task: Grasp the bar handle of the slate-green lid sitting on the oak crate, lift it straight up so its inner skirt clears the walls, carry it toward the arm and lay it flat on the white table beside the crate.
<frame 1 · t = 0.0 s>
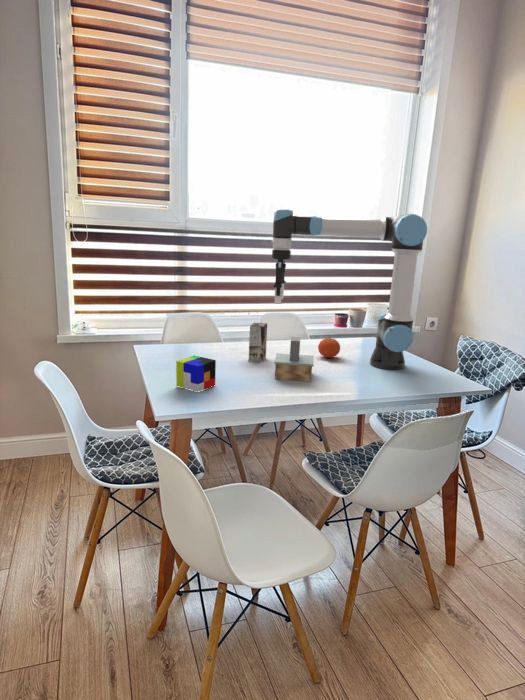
hand: (279, 301, 195), 28 cm above the table, fingers open, 13 cm apart
crate: (293, 377, 187), on the table
lid: (294, 360, 185), point 7 cm above the table, touching crate
orange fruit: (328, 357, 219), on the table
puzzle toy: (196, 387, 172), on the table
coffee box: (257, 360, 210), on the table
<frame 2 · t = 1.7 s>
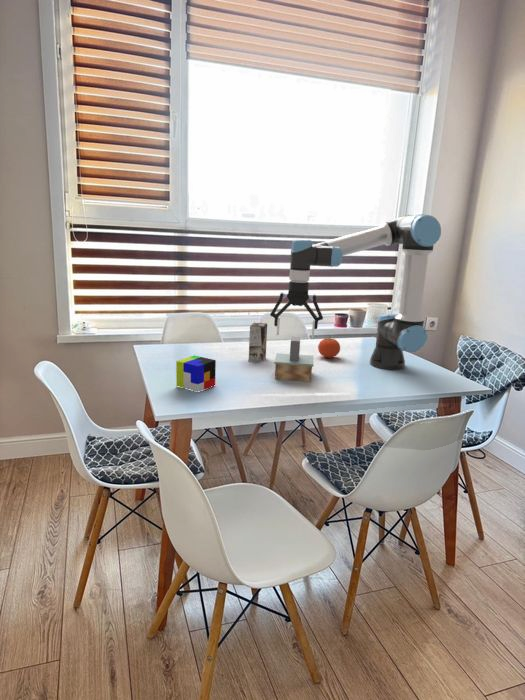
hand: (295, 335, 183), 17 cm above the table, fingers open, 13 cm apart
nothing on the table moved.
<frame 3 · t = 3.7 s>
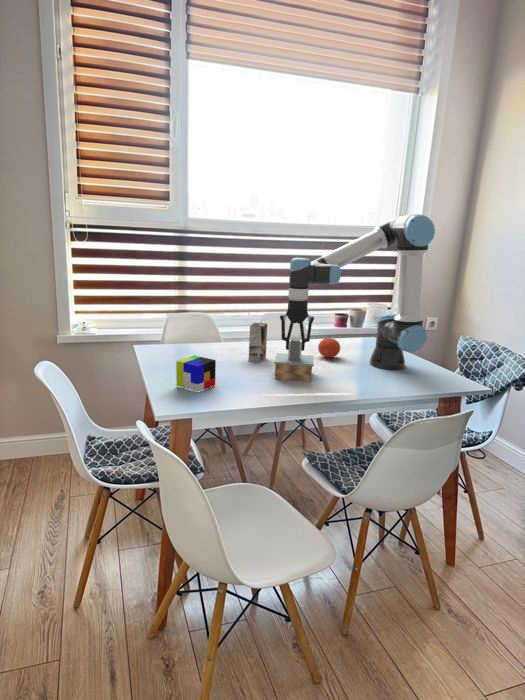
hand: (294, 357, 185), 8 cm above the table, fingers closed on lid, 3 cm apart
lid: (294, 360, 185), point 7 cm above the table, touching crate, gripper
everything else where it was.
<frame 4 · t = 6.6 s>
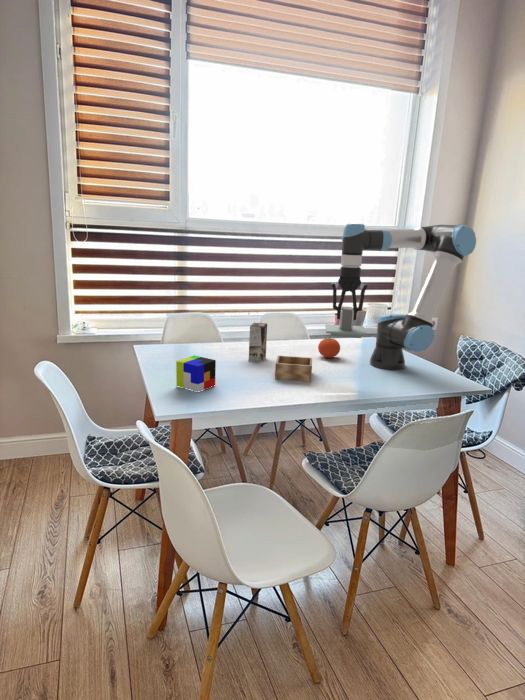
hand: (345, 327, 180), 21 cm above the table, fingers closed on lid, 3 cm apart
lid: (345, 330, 180), point 20 cm above the table, touching gripper
everything else where it was.
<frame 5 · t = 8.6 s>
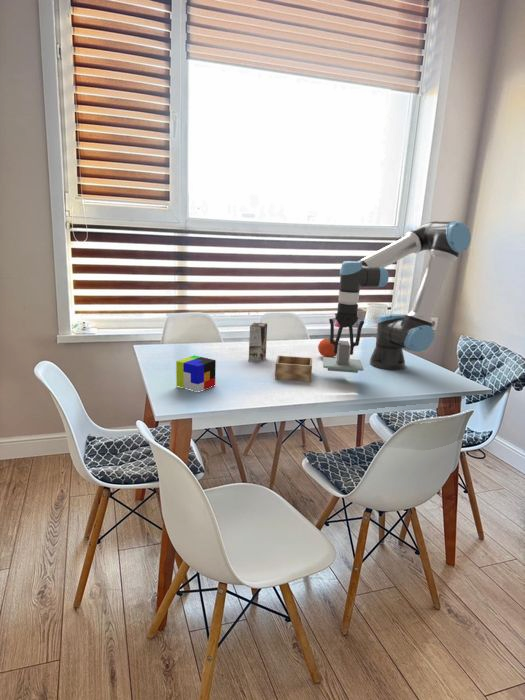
hand: (342, 361, 183), 8 cm above the table, fingers closed on lid, 3 cm apart
lid: (342, 364, 184), point 7 cm above the table, touching gripper
everything else where it was.
when the fingers open (4 cm above the table, at t = 9.9 s): lid drops 2 cm, point 1 cm above the table.
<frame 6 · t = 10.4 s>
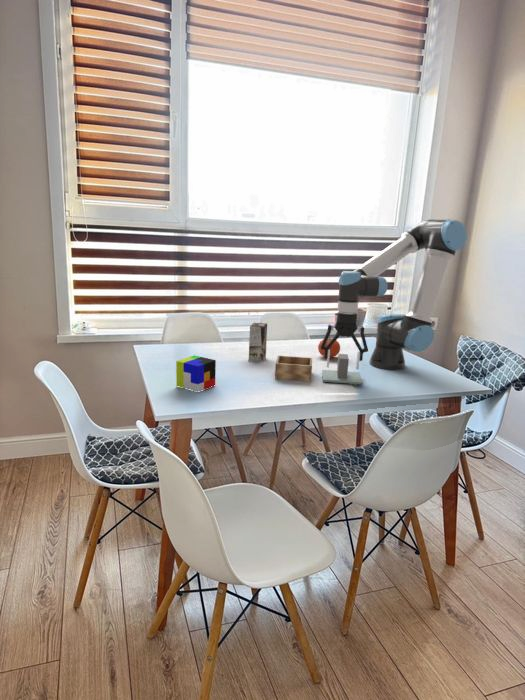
hand: (342, 367, 184), 5 cm above the table, fingers open, 11 cm apart
lid: (341, 377, 185), point 1 cm above the table
everything else where it was.
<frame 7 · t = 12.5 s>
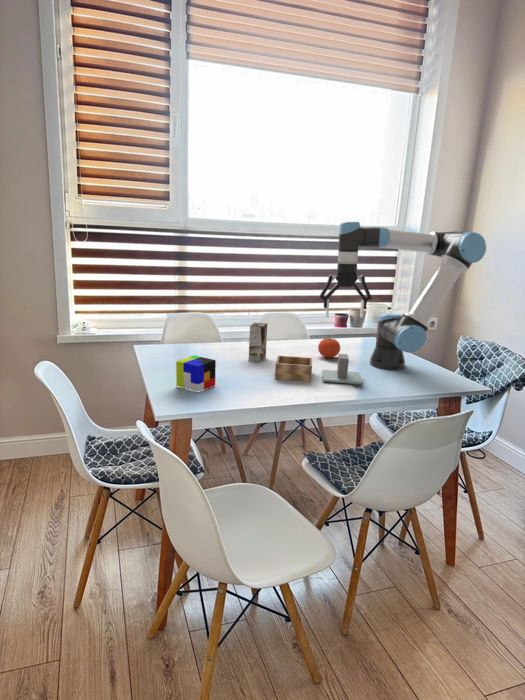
hand: (344, 316, 187), 24 cm above the table, fingers open, 13 cm apart
nothing on the table moved.
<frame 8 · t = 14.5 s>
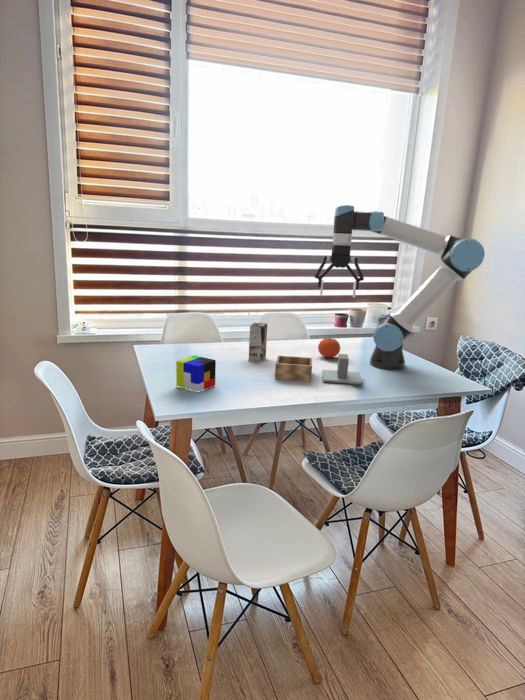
hand: (337, 296, 197), 31 cm above the table, fingers open, 13 cm apart
nothing on the table moved.
at the end: lid inside the target area (0.1 cm from its centre), point 1.3 cm above the table; lid tilted 0°; the gripper is holding nothing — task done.
